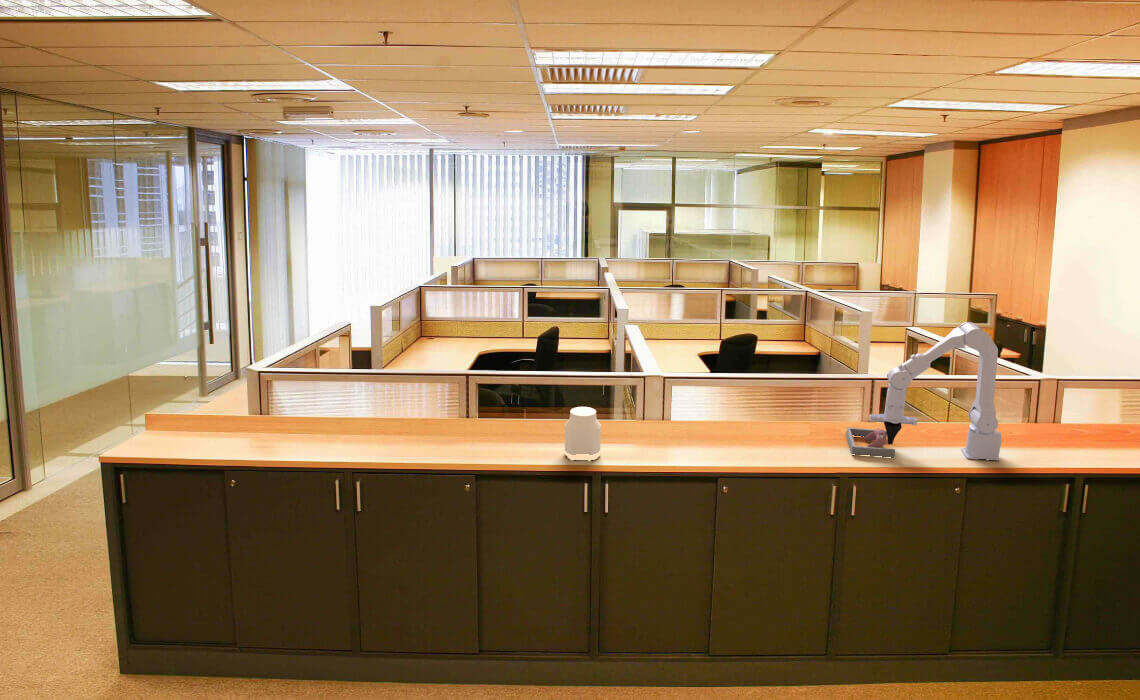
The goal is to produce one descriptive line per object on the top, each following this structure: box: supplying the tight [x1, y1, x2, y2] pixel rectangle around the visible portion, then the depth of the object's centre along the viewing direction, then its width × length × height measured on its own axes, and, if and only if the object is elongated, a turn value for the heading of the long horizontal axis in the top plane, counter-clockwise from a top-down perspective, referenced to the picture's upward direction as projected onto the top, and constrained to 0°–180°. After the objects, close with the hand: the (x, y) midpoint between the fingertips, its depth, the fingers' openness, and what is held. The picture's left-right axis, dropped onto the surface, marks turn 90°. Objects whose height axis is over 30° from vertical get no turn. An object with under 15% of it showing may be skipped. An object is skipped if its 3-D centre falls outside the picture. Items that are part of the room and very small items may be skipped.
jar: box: [564, 406, 602, 455], centre depth 259 cm, size 12×10×15 cm
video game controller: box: [864, 428, 887, 448], centre depth 269 cm, size 10×5×7 cm, turn 165°
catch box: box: [845, 426, 896, 459], centre depth 269 cm, size 13×17×3 cm
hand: (889, 443), depth 268 cm, fingers closed
